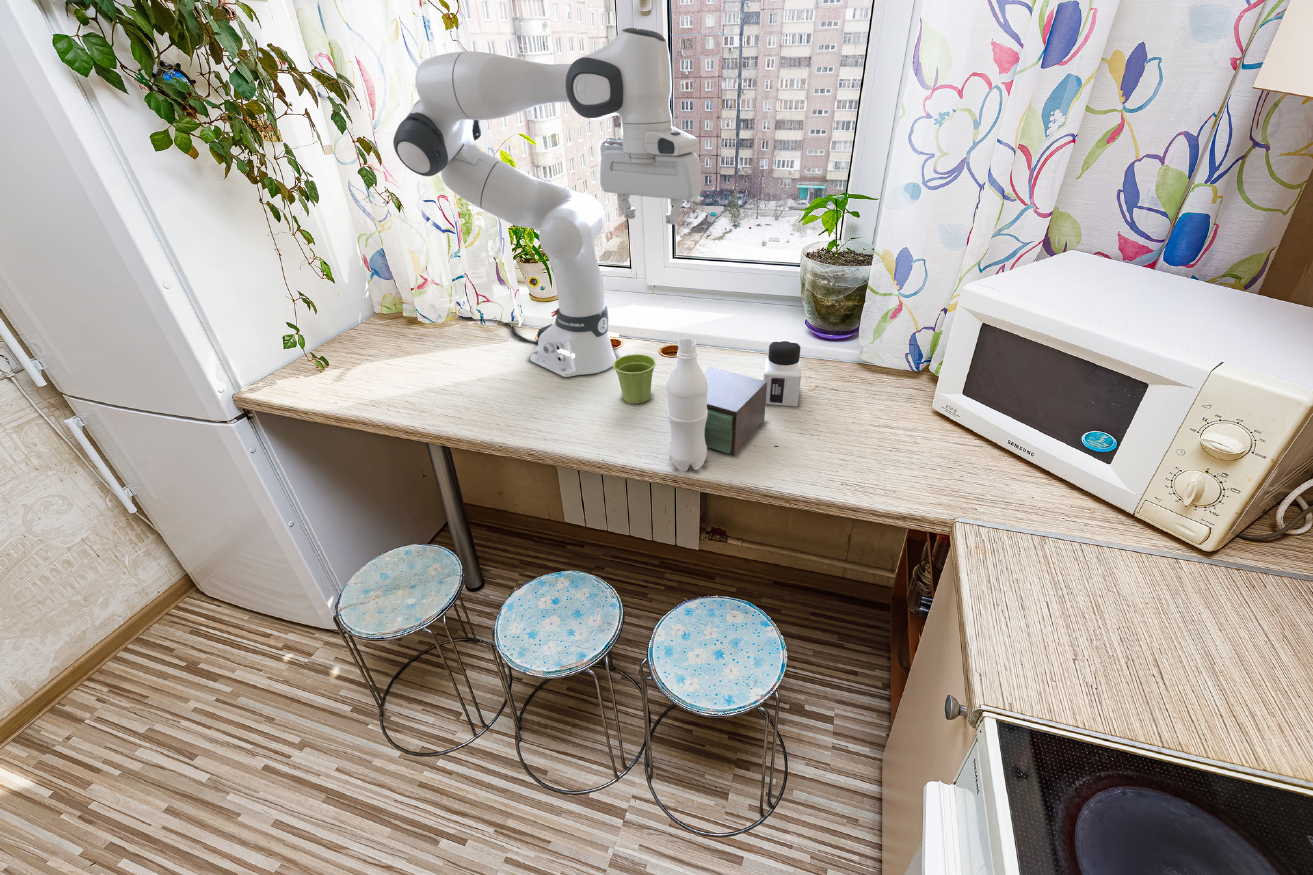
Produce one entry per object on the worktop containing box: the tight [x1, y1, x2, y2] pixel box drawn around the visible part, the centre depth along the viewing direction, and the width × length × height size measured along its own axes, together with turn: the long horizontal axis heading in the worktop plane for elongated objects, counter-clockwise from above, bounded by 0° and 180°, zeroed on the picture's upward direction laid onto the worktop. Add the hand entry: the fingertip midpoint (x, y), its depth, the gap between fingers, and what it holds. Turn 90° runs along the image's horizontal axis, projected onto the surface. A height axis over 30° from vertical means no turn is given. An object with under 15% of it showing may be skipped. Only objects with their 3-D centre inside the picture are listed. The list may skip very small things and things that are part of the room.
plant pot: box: [612, 353, 657, 405], centre depth 134 cm, size 9×9×9 cm
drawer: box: [704, 408, 733, 455], centre depth 119 cm, size 14×12×8 cm
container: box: [763, 339, 802, 407], centre depth 131 cm, size 8×8×13 cm
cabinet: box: [703, 367, 767, 456], centre depth 121 cm, size 14×13×10 cm
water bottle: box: [666, 338, 708, 472], centre depth 108 cm, size 7×7×25 cm
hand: (650, 221), depth 113 cm, fingers open, 8 cm apart
